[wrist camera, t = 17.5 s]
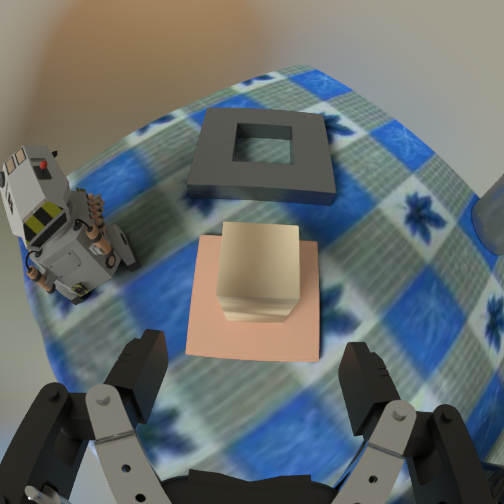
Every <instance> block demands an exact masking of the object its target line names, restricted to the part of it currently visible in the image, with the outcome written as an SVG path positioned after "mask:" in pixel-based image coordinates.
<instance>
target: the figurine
mask: <svg viewBox="0 0 504 504" xmlns="http://www.w3.org/2000/svg"><path fill="white" fill-rule="evenodd" d="M56 156H57V151H54V152H52V153H51V151H50V149H49V148H48V146H29V145H28V146H27V145H24V146H22V147H21V148H20V149H18V150H17V151H16V152H15V153H14V154H13V155H12V156H11V157H10V158H9V159H8V160H7V161H6V162H5V163H4V166H3V172H0V186H1V189H0V190H1V194H2V198H3V202H4V206H5V210H6V213H7V216H8V220H9V223H10V226H11V229H12V232H13V234H14V235H16V236H19V237H22V239H23V242H24V244H25V247H26V249H27V250H29V253H28V254H27V257H26V267H27V269H28V270H27V275H28V276H29V277H30V278H31V279H32V280H33V281H34V282H36V283H37V284H39V285H40V286H41V287H43V288H44V289H45V290H46V291H47V292H48V293H49V294H52V293H53V292H54V291H55V288H56V289H57V290H58V291H59V292H60V293H61V294H62V295H64V296H65V297H67V298H69V299H70V301H71V302H72V303H73V304H75V305H77V304H79V303H81V302H82V301H84V299H83V295H85V294H86V293H88V292H89V291H91V290H93V289H94V288H96V287H98V286H99V285H101V284H103V283H104V282H106V281H108V280H110V279H111V278H112V277H113V275H114V273H115V271H116V269H117V267H118V265H119V263H120V261H121V259H122V260H123V261H124V262H125V263H126V265H127V268H128V269H129V270H130V271H131V272H133V271H135V270H136V269H138V268H140V267H141V266H140V263H139V261H138V259H137V256H136V254H135V251H134V249H133V247H132V244H131V242H130V239H129V237H128V235H127V234H126V233H125V232H123V231H122V230H121V229H120V228H119V226H117V225H116V224H113V225H111V226H110V227H109V226H108V225H107V224H106V222H105V221H104V218H103V216H102V215H101V214H102V212H103V211H104V208H103V205H104V204H105V202H104V201H103V200H102V198H101V195H100V194H98V195H96V196H94V195H93V194H92V193H89V196H88V195H87V193H86V190H85V189H78V187H77V188H76V189H77V191H71V192H70V188H69V181H68V180H67V178H66V177H65V175H64V174H63V172H62V170H61V169H60V167H59V165H58V163H57V162H56V160H55V157H56ZM28 256H30V259H31V260H33V261H34V262H35V263H36V264H37V265H38V266H39V267H40V268H41V269H42V270H41V272H40V271H39V270H37V269H36V268H34V267H33V266H30V267H28V264H27V259H28Z"/></svg>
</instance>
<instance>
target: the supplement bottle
mask: <svg viewBox="0 0 504 504" xmlns="http://www.w3.org/2000/svg"><path fill="white" fill-rule="evenodd" d="M480 462H481V465H482V468H483V471H484V473H485V476H486V479H487V482H488V485H489V488H490V491H491V495H492V498H493V501H494V504H504V465H499V464H493V463H487V462H482V461H480Z"/></svg>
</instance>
